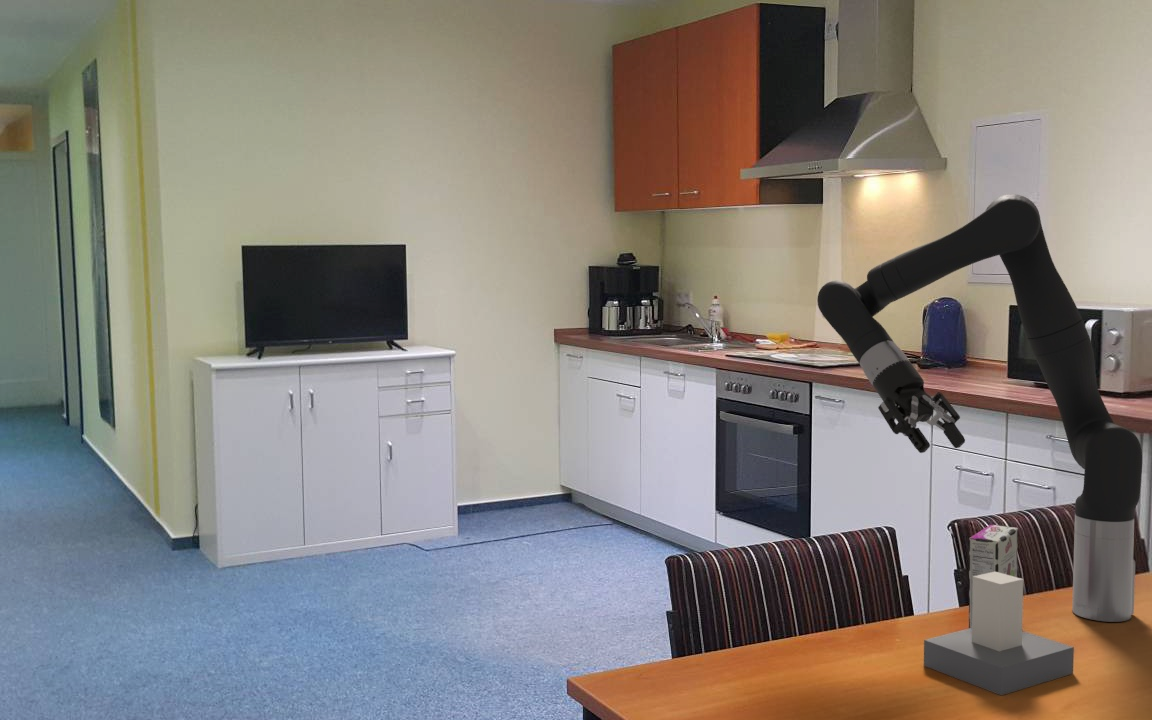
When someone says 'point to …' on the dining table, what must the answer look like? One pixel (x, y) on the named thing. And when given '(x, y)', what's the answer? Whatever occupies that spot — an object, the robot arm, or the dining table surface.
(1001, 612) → the cream block
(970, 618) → the candy bar box
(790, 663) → the dining table surface
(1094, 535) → the robot arm
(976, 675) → the base board
